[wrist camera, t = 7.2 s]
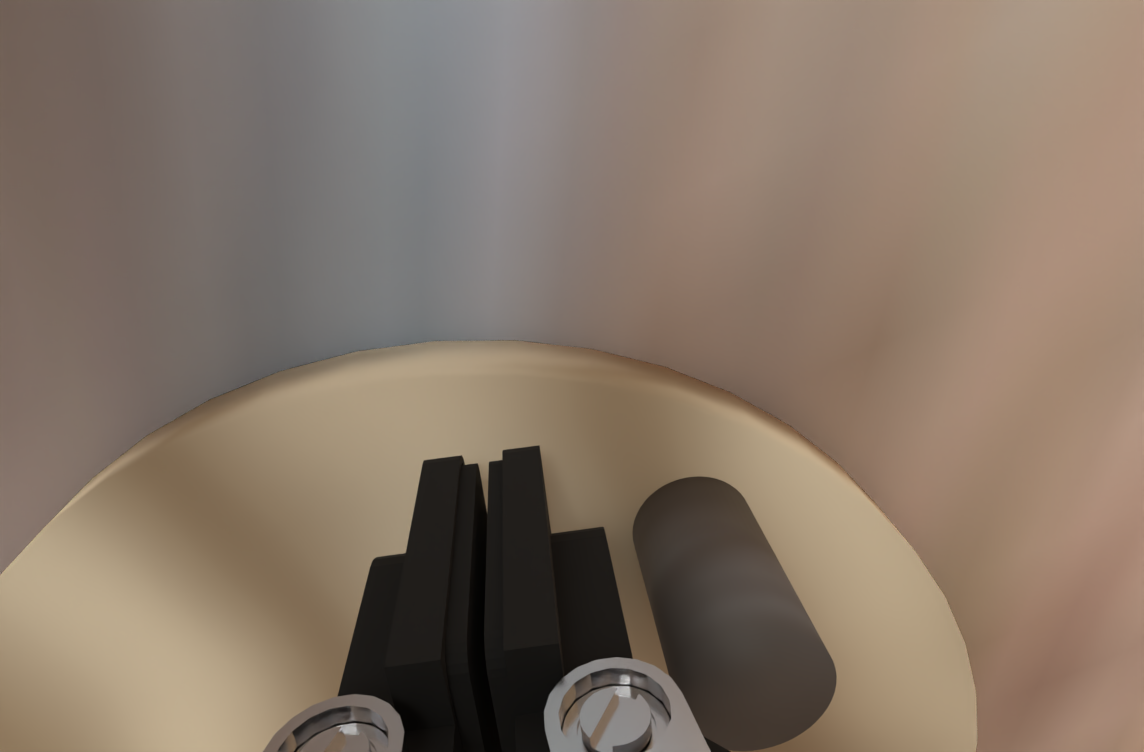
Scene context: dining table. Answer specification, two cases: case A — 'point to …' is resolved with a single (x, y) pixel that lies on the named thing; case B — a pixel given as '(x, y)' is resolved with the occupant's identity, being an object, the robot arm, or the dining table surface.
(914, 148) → the dining table surface
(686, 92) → the dining table surface
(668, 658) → the turntable
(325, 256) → the dining table surface
